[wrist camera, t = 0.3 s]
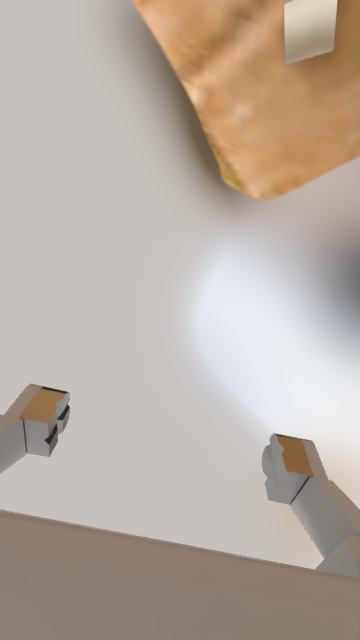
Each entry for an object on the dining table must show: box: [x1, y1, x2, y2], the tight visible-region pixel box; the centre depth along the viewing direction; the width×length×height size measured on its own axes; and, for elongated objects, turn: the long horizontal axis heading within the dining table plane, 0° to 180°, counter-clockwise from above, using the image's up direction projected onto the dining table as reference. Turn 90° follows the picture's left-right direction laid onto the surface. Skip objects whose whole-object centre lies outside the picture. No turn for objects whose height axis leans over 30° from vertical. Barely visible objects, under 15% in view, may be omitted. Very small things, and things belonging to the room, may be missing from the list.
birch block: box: [284, 0, 337, 65], centre depth 34 cm, size 5×5×10 cm
